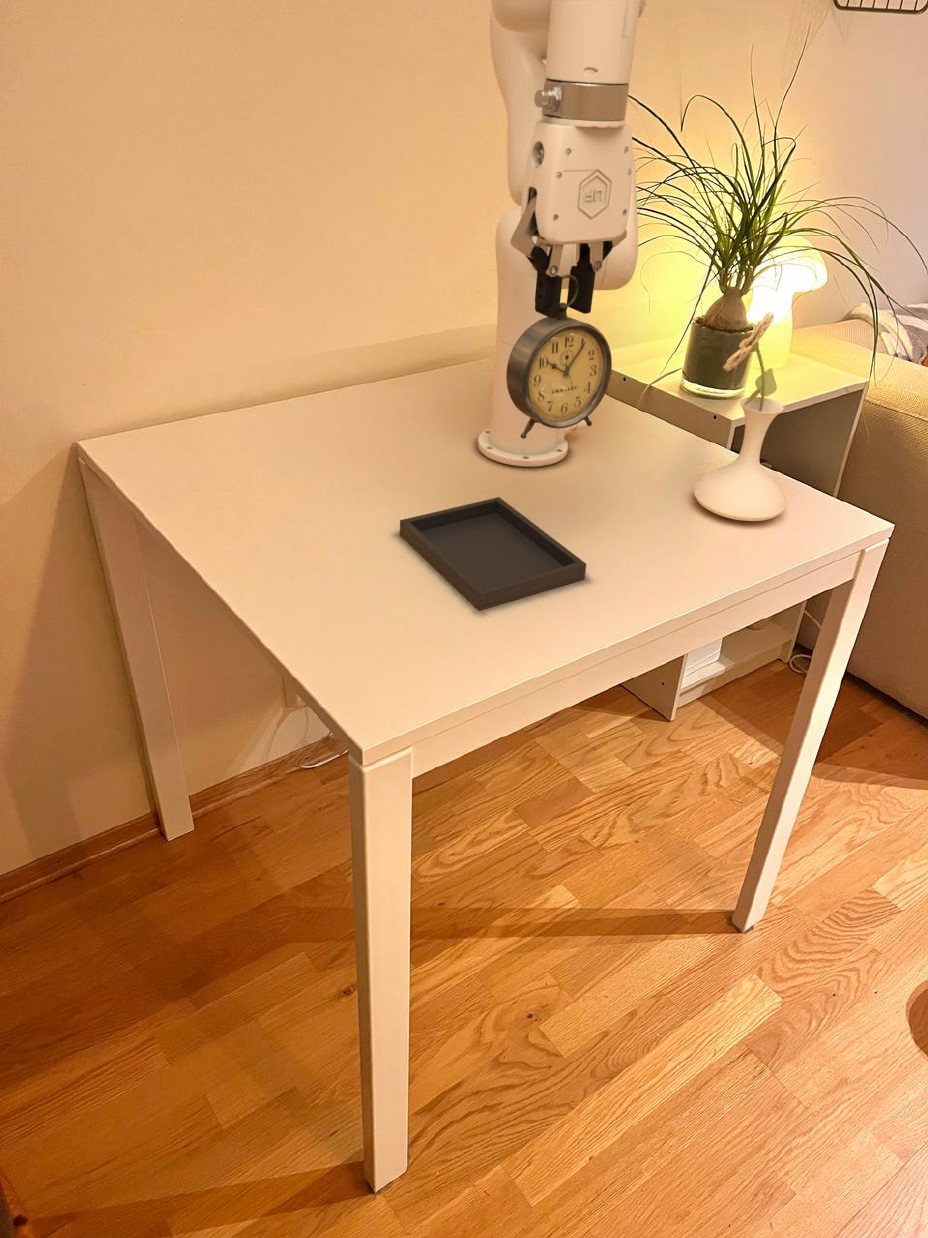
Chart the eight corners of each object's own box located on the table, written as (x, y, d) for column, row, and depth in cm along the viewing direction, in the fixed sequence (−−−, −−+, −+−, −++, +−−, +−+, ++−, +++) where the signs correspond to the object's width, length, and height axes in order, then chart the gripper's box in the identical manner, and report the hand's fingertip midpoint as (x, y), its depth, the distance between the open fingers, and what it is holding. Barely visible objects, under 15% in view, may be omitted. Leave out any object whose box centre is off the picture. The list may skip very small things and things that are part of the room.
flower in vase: (722, 480, 123) (766, 288, 108) (799, 511, 116) (856, 311, 102) (665, 509, 115) (705, 307, 101) (745, 544, 108) (798, 333, 94)
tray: (497, 511, 112) (499, 496, 111) (584, 579, 100) (586, 563, 99) (399, 535, 106) (399, 519, 105) (479, 610, 94) (480, 594, 93)
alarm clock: (520, 446, 95) (535, 285, 86) (494, 427, 99) (506, 271, 90) (605, 431, 100) (628, 276, 91) (577, 413, 104) (596, 264, 95)
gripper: (535, 109, 76) (517, 332, 86) (680, 108, 83) (648, 313, 94) (485, 100, 81) (473, 311, 91) (626, 100, 88) (601, 295, 99)
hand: (562, 310), depth 92 cm, fingers closed on alarm clock, 3 cm apart
